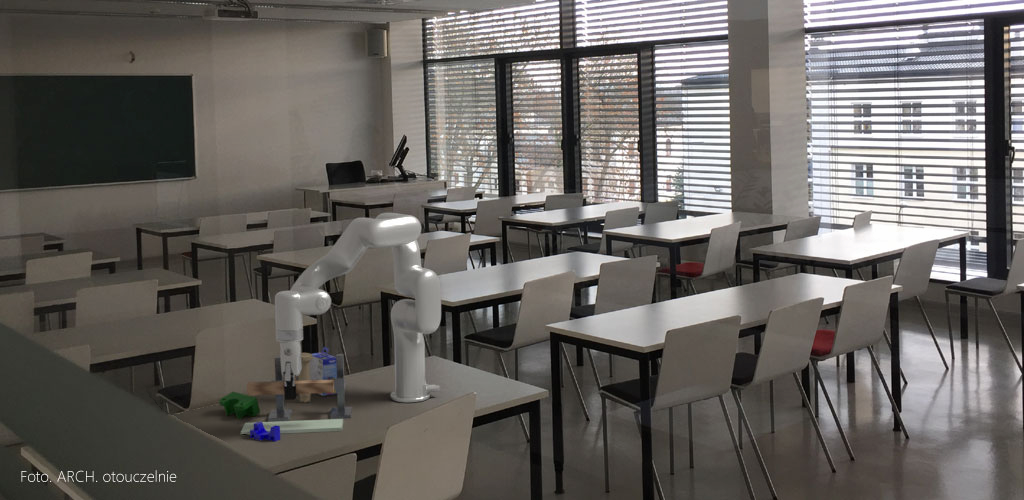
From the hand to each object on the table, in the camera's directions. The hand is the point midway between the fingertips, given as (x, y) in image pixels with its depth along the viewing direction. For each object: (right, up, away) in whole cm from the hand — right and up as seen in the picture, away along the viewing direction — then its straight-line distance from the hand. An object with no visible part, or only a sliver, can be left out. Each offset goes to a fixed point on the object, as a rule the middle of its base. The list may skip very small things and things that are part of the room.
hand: (291, 396), depth 270 cm
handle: (-2, -6, +28) cm, 28 cm away
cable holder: (-6, -11, -7) cm, 14 cm away
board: (0, -9, +1) cm, 9 cm away
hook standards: (+3, -8, +13) cm, 15 cm away
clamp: (-19, -8, +14) cm, 25 cm away
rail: (0, +1, 0) cm, 1 cm away
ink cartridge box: (+2, -5, +38) cm, 38 cm away
